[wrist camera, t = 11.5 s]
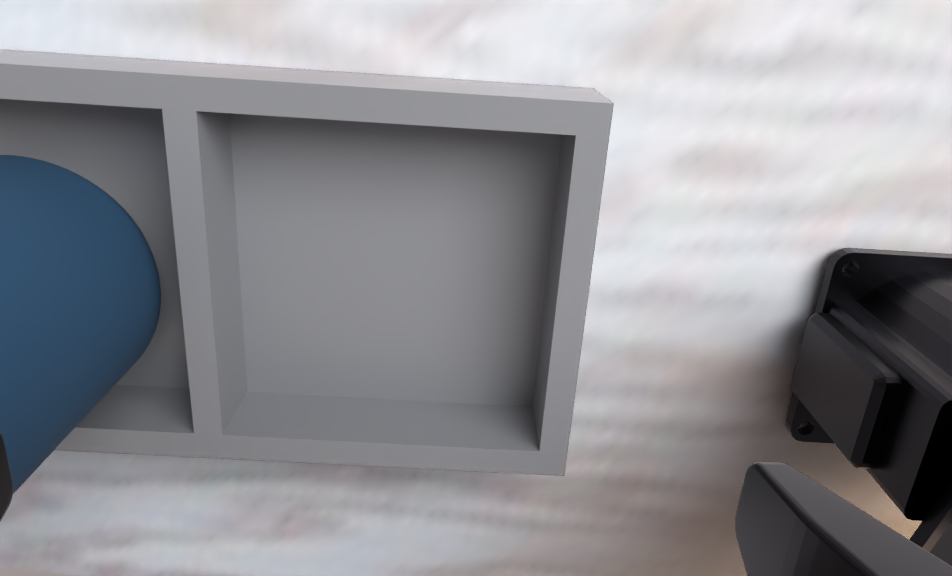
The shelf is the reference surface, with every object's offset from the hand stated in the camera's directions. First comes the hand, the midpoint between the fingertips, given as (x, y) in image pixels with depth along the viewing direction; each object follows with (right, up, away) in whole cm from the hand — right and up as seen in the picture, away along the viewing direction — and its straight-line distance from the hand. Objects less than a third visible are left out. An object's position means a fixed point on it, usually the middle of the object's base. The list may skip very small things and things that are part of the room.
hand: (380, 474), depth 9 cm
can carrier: (-6, +3, +13) cm, 15 cm away
